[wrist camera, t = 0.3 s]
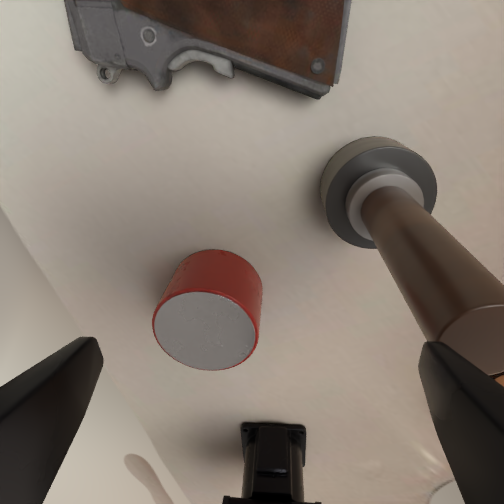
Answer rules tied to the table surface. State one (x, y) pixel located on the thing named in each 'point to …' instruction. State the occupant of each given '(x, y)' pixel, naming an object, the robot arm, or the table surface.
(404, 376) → the table surface
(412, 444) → the table surface
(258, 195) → the table surface
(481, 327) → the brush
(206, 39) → the handgun
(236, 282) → the tin
